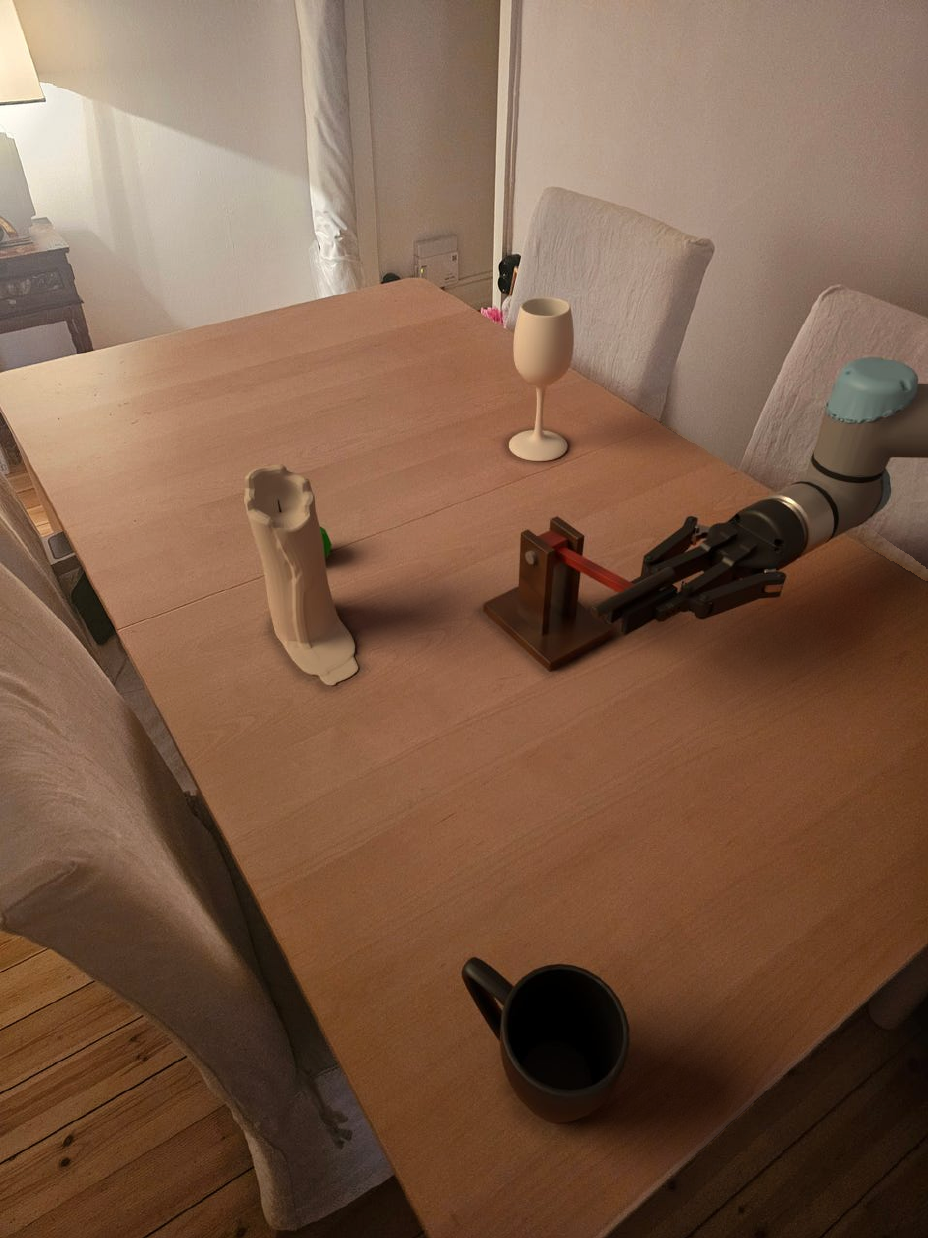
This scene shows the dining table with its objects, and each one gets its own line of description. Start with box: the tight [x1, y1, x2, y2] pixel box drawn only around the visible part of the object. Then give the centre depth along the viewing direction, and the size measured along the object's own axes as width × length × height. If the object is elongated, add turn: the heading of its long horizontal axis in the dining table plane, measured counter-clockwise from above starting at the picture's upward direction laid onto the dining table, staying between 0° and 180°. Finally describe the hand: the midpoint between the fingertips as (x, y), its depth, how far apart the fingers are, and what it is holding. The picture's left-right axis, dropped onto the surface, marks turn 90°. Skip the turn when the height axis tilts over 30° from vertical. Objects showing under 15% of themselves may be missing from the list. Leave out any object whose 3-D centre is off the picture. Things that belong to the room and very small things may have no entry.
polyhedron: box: [319, 525, 332, 559], centre depth 101 cm, size 5×5×5 cm
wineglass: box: [508, 296, 575, 462], centre depth 115 cm, size 9×9×21 cm
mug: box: [461, 956, 631, 1124], centre depth 56 cm, size 8×12×10 cm
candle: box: [243, 463, 359, 686], centre depth 85 cm, size 7×14×20 cm, turn 32°
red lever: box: [537, 529, 675, 619], centre depth 82 cm, size 14×10×2 cm
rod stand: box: [482, 515, 613, 672], centre depth 89 cm, size 12×9×13 cm
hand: (617, 617), depth 78 cm, fingers closed
